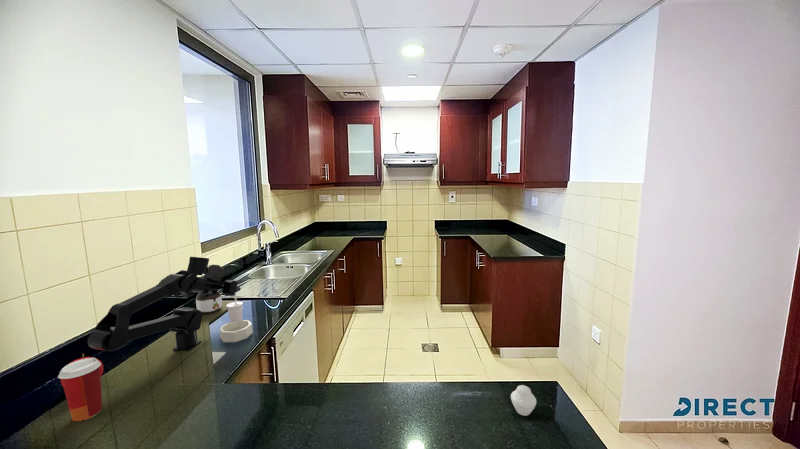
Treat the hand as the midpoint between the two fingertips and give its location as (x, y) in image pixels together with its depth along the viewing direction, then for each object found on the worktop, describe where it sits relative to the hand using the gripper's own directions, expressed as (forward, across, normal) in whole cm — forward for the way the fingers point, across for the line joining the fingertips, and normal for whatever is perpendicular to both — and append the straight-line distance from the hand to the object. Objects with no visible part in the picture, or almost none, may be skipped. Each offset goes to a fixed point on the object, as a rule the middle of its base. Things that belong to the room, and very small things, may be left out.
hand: (231, 288), depth 136 cm
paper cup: (-46, -8, +36) cm, 59 cm away
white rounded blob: (-16, -117, +23) cm, 120 cm away
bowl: (-4, -12, +18) cm, 22 cm away
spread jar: (+13, +22, +11) cm, 28 cm away
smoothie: (+3, -5, +15) cm, 16 cm away
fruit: (-39, +8, +33) cm, 52 cm away
